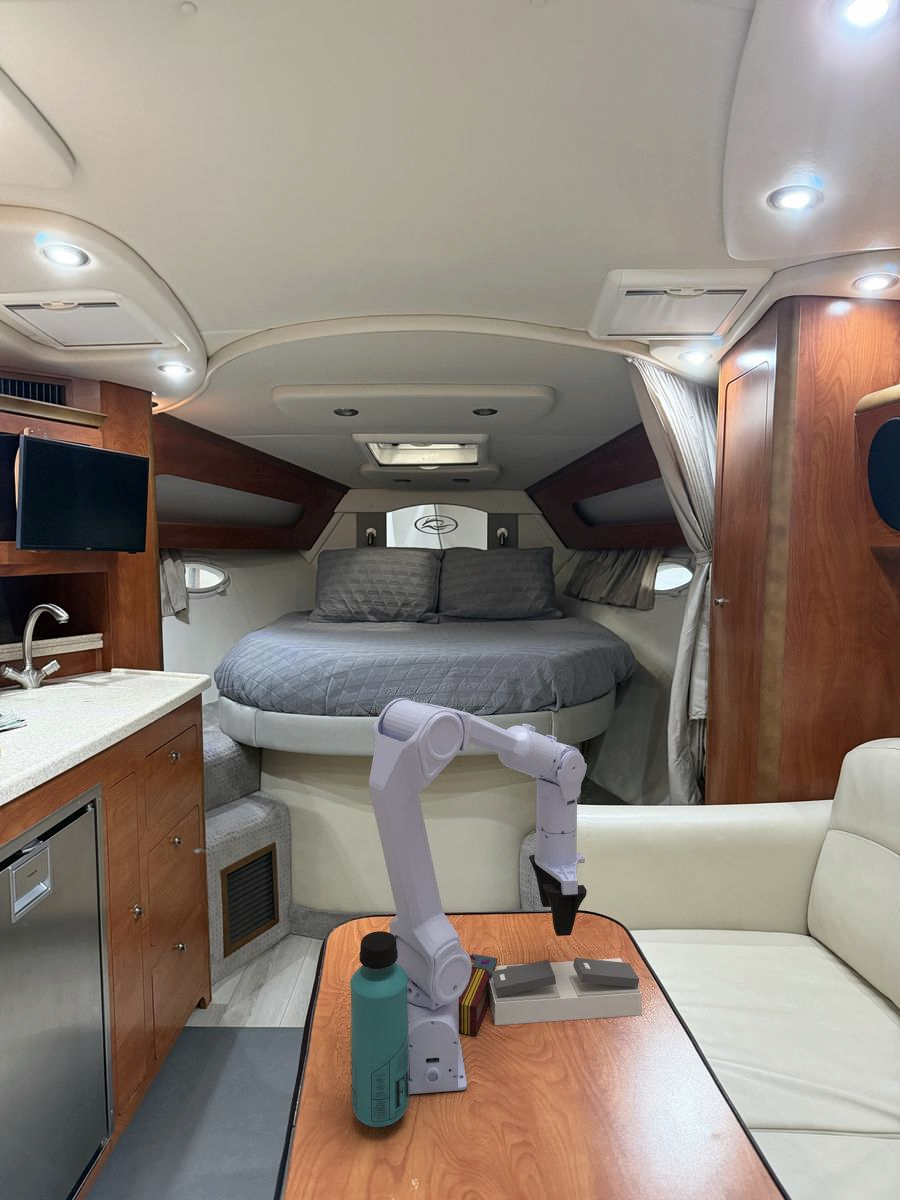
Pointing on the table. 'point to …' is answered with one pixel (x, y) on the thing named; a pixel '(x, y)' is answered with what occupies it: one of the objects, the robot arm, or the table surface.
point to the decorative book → (476, 994)
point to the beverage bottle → (379, 1033)
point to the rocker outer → (605, 972)
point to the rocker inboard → (523, 977)
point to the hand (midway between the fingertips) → (555, 919)
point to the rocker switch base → (564, 999)
